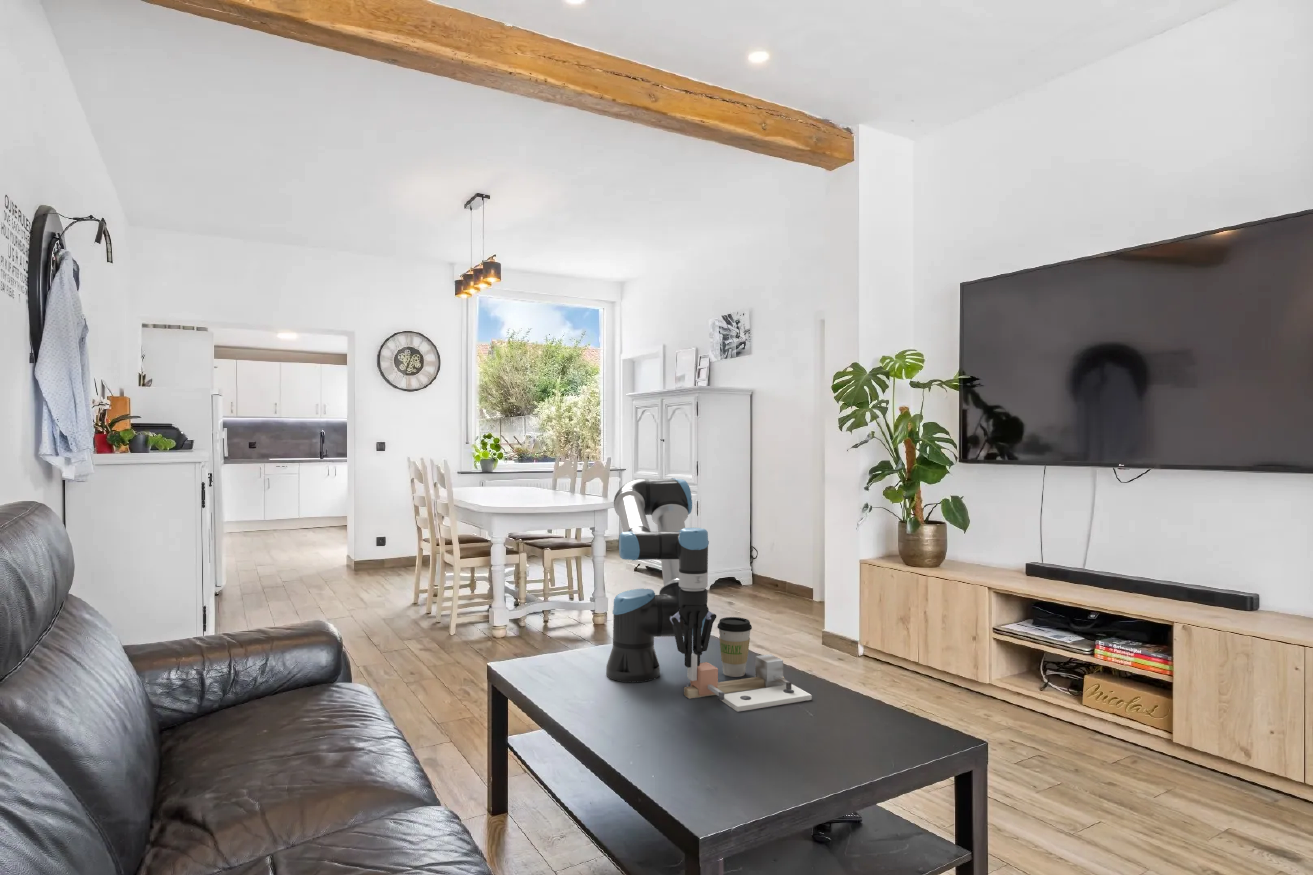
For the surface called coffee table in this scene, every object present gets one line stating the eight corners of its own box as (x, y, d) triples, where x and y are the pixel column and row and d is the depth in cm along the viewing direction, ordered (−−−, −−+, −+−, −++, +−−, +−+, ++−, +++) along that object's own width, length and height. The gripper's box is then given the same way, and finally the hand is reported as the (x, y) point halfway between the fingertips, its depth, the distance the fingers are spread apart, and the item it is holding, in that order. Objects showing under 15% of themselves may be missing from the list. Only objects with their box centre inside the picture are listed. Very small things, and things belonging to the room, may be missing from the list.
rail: (681, 692, 196) (681, 665, 196) (775, 679, 208) (775, 653, 208) (704, 710, 184) (705, 681, 184) (802, 694, 196) (803, 667, 196)
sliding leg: (690, 688, 197) (690, 664, 197) (706, 686, 199) (707, 661, 199) (713, 705, 185) (714, 679, 185) (731, 702, 187) (731, 676, 187)
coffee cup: (710, 670, 215) (711, 618, 215) (739, 666, 220) (740, 615, 219) (727, 680, 207) (728, 626, 206) (758, 676, 211) (758, 623, 211)
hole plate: (719, 699, 192) (719, 694, 192) (791, 688, 201) (791, 683, 201) (737, 711, 184) (737, 706, 184) (811, 699, 193) (811, 694, 193)
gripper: (676, 592, 188) (675, 686, 188) (722, 589, 193) (721, 680, 193) (664, 587, 195) (663, 677, 195) (709, 583, 200) (708, 671, 200)
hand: (692, 678), depth 194 cm, fingers closed
